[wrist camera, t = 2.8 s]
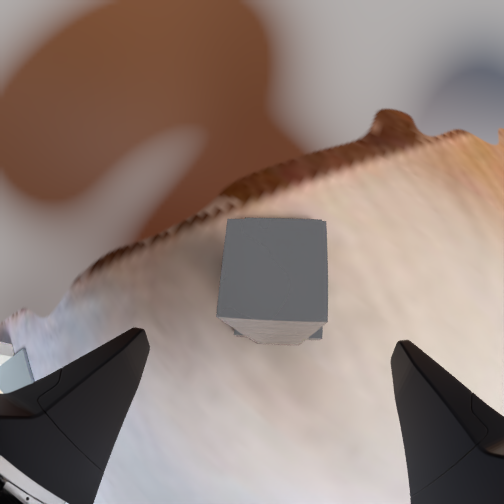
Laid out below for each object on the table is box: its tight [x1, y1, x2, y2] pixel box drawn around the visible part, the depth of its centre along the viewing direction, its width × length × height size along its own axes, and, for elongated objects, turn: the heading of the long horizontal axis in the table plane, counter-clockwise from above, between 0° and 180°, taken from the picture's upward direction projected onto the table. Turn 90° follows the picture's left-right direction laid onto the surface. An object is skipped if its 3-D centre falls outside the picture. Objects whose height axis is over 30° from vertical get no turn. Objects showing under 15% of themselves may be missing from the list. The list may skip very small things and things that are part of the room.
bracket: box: [216, 218, 328, 345], centre depth 14 cm, size 9×6×12 cm, turn 176°
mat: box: [0, 349, 34, 394], centre depth 15 cm, size 14×15×1 cm
